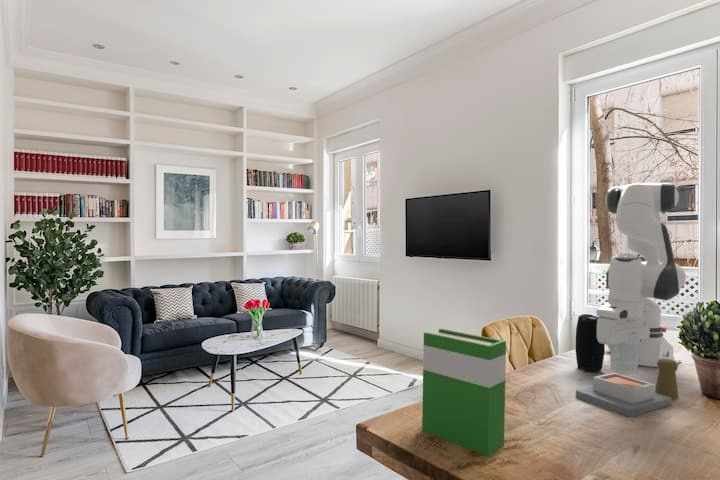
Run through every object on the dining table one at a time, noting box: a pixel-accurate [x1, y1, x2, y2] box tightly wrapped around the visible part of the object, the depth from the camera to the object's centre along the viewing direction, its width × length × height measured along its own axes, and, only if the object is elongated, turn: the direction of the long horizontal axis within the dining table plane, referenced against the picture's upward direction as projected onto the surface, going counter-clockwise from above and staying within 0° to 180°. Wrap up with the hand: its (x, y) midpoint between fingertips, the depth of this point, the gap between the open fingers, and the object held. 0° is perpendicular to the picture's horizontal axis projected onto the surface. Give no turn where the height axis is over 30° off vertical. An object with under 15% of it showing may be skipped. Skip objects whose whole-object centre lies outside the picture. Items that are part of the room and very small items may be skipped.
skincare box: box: [609, 332, 639, 375], centre depth 129 cm, size 6×4×12 cm
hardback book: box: [421, 328, 507, 457], centre depth 104 cm, size 18×7×24 cm, turn 45°
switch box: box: [575, 372, 673, 418], centre depth 129 cm, size 20×16×6 cm
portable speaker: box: [575, 313, 606, 374], centre depth 159 cm, size 9×9×20 cm
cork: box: [654, 359, 679, 400], centre depth 134 cm, size 6×6×11 cm
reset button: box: [606, 377, 642, 388], centre depth 129 cm, size 6×8×2 cm
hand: (623, 356), depth 129 cm, fingers closed on skincare box, 7 cm apart
